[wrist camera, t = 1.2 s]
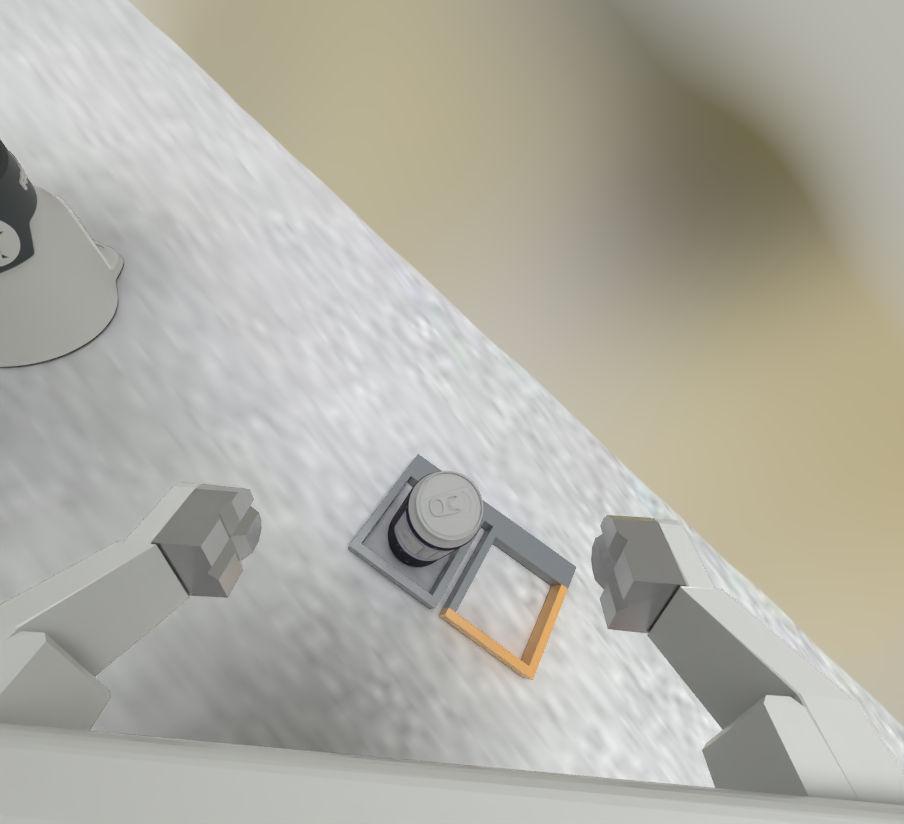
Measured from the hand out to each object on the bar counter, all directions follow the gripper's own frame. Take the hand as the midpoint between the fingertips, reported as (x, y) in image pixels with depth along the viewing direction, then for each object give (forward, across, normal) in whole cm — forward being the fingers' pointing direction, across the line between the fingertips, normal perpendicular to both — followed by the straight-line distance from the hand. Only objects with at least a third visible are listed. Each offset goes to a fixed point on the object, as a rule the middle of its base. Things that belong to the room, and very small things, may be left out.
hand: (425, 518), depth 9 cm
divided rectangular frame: (+16, -2, +26) cm, 31 cm away
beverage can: (+18, +3, +24) cm, 30 cm away
